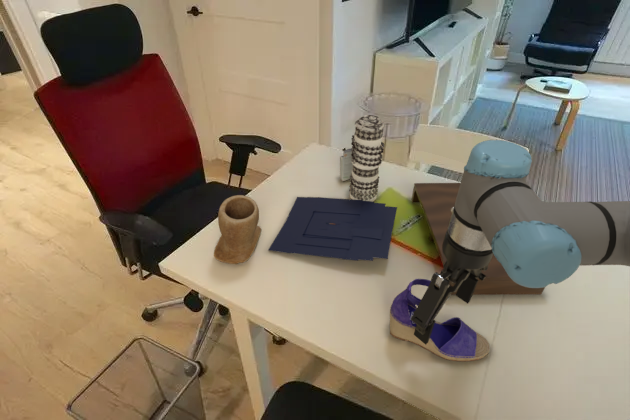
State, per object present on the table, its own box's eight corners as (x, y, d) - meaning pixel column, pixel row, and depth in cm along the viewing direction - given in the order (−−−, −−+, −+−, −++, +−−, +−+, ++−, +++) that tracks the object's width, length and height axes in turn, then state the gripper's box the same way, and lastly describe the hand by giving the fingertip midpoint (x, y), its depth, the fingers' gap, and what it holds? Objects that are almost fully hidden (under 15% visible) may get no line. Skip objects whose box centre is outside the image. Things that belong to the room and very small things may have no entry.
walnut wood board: (541, 294, 84) (551, 276, 80) (444, 294, 84) (449, 277, 80) (484, 199, 112) (489, 182, 109) (411, 199, 112) (414, 183, 109)
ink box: (368, 170, 125) (371, 139, 118) (372, 173, 124) (375, 142, 116) (338, 178, 121) (339, 146, 114) (341, 181, 120) (343, 150, 113)
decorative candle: (343, 190, 116) (346, 114, 101) (369, 184, 119) (377, 109, 103) (355, 206, 110) (362, 128, 94) (383, 199, 112) (394, 123, 97)
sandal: (487, 374, 69) (513, 327, 60) (382, 340, 75) (392, 293, 66) (488, 338, 75) (512, 290, 66) (391, 309, 81) (400, 261, 72)
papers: (386, 272, 88) (386, 261, 85) (269, 258, 96) (267, 248, 94) (397, 210, 106) (398, 200, 104) (298, 203, 115) (297, 193, 112)
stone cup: (254, 270, 90) (247, 223, 81) (209, 263, 92) (196, 216, 83) (272, 230, 102) (268, 184, 92) (231, 224, 104) (223, 179, 94)
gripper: (490, 193, 66) (461, 273, 80) (401, 261, 54) (384, 342, 67) (533, 214, 62) (494, 294, 75) (445, 293, 49) (418, 373, 63)
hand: (442, 317), depth 71 cm, fingers open, 13 cm apart
